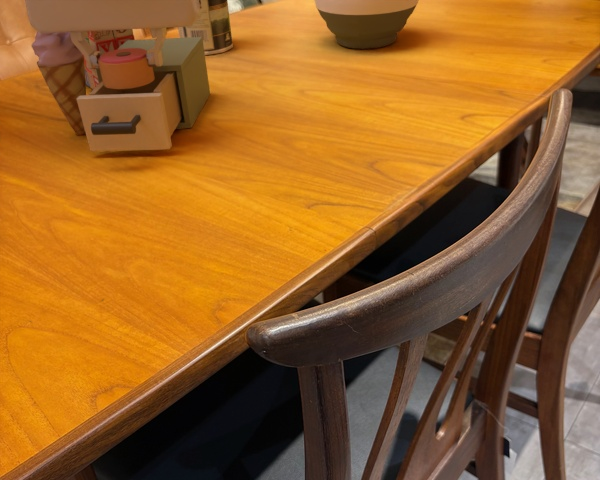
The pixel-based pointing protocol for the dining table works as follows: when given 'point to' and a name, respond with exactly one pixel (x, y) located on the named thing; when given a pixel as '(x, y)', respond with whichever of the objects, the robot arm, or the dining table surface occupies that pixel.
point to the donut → (125, 68)
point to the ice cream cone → (62, 73)
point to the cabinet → (181, 71)
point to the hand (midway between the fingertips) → (126, 66)
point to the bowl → (365, 20)
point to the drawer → (132, 115)
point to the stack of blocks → (104, 48)
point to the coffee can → (211, 27)
